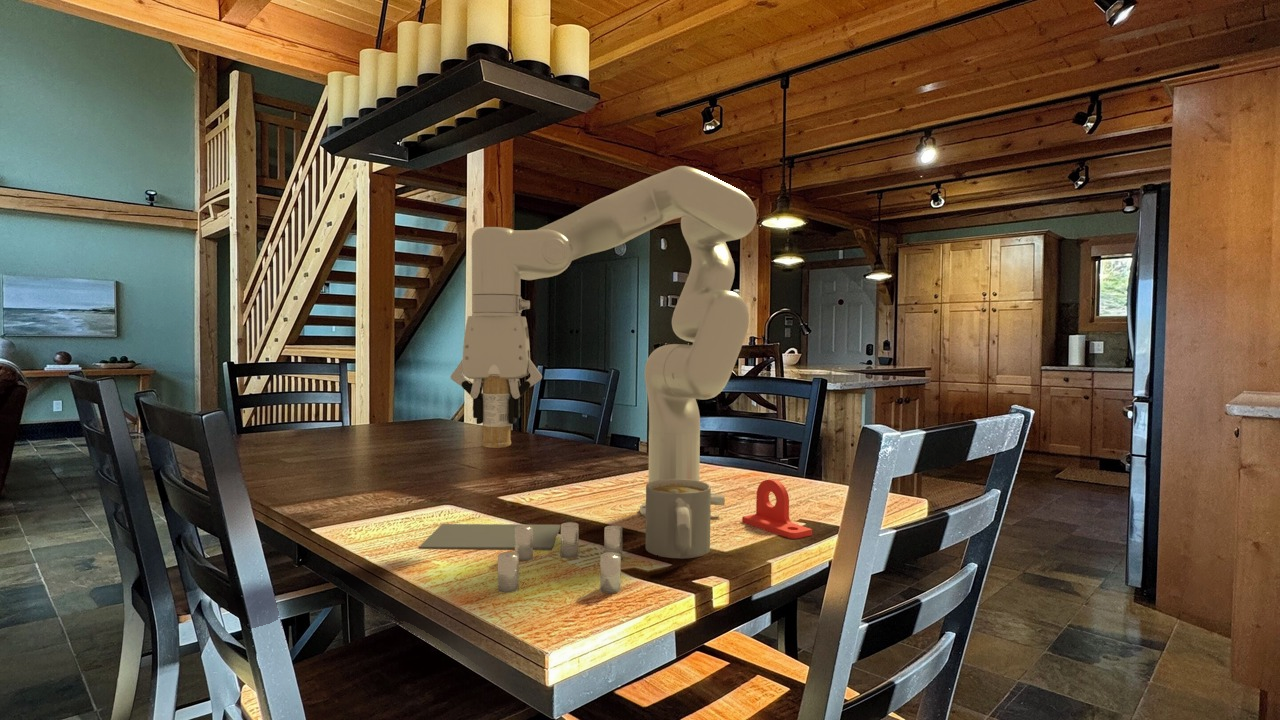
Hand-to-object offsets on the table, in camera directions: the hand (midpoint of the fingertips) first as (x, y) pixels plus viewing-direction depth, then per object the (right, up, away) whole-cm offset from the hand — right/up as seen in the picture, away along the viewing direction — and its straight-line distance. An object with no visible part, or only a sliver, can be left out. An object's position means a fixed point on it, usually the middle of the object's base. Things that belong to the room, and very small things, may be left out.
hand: (496, 421), depth 104 cm
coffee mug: (+28, -20, -4) cm, 35 cm away
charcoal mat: (-1, -19, +1) cm, 19 cm away
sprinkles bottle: (0, -4, 0) cm, 4 cm away
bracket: (+46, -20, +9) cm, 51 cm away
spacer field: (+12, -20, -15) cm, 28 cm away
